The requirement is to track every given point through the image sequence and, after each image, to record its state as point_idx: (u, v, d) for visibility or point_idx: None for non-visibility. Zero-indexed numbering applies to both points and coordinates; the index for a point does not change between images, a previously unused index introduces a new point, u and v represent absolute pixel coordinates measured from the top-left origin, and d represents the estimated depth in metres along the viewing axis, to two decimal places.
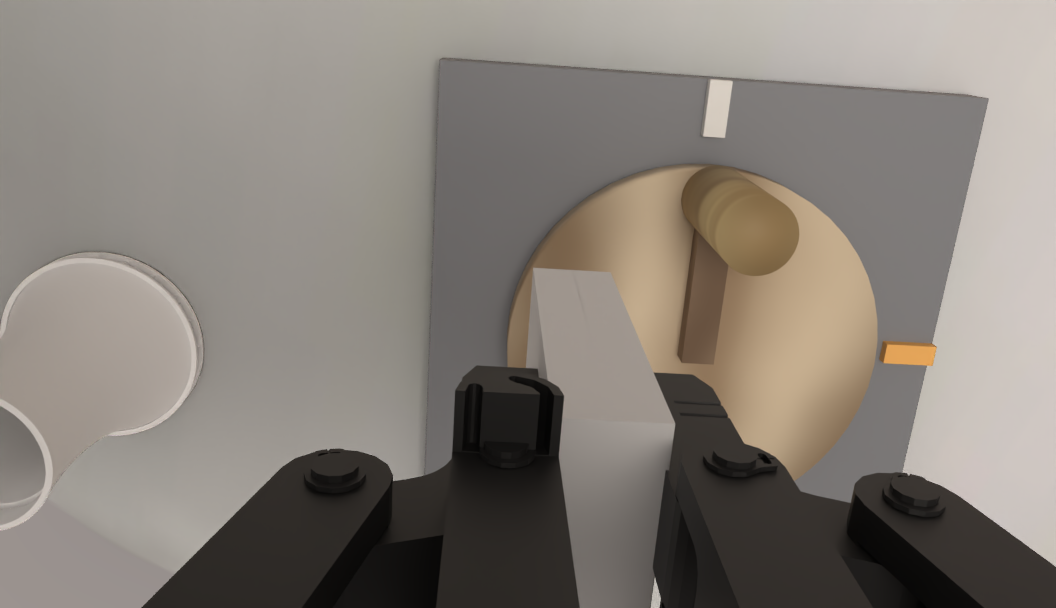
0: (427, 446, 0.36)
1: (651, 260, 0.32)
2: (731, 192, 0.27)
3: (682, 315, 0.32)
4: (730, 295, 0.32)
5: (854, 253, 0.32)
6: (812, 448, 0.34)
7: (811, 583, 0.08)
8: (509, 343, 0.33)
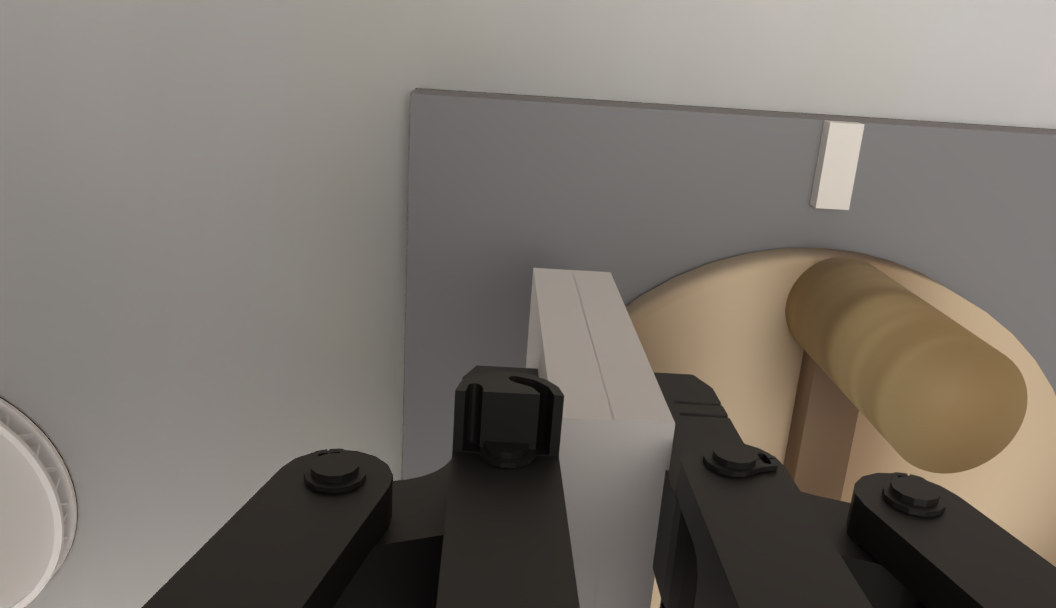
0: None
1: (735, 397, 0.21)
2: (898, 325, 0.16)
3: None
4: (855, 447, 0.21)
5: (1046, 385, 0.21)
6: None
7: (811, 583, 0.08)
8: None
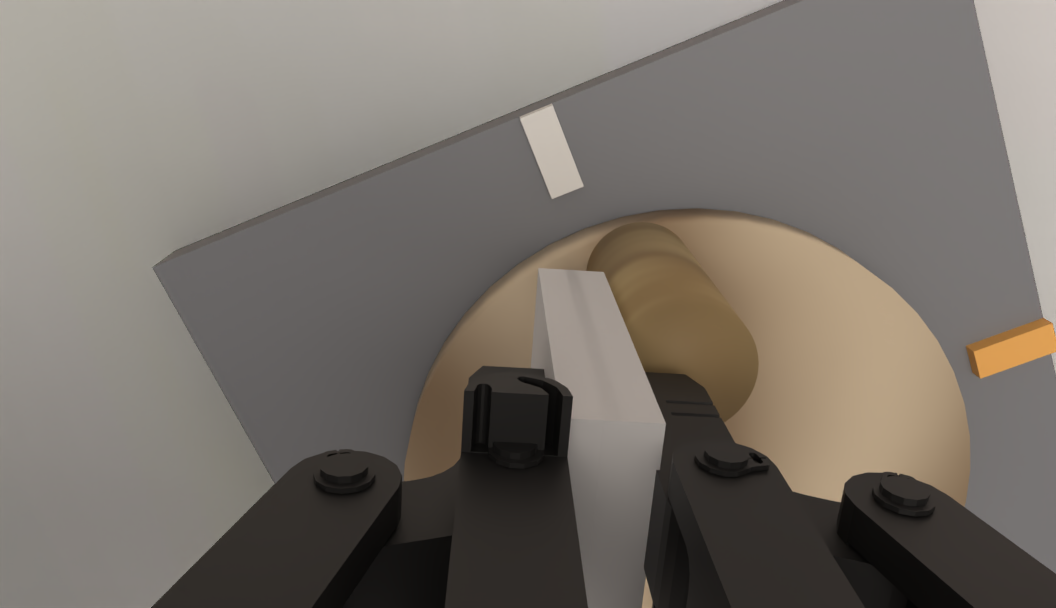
0: None
1: None
2: (626, 296, 0.15)
3: None
4: None
5: (885, 287, 0.20)
6: None
7: (803, 582, 0.08)
8: None
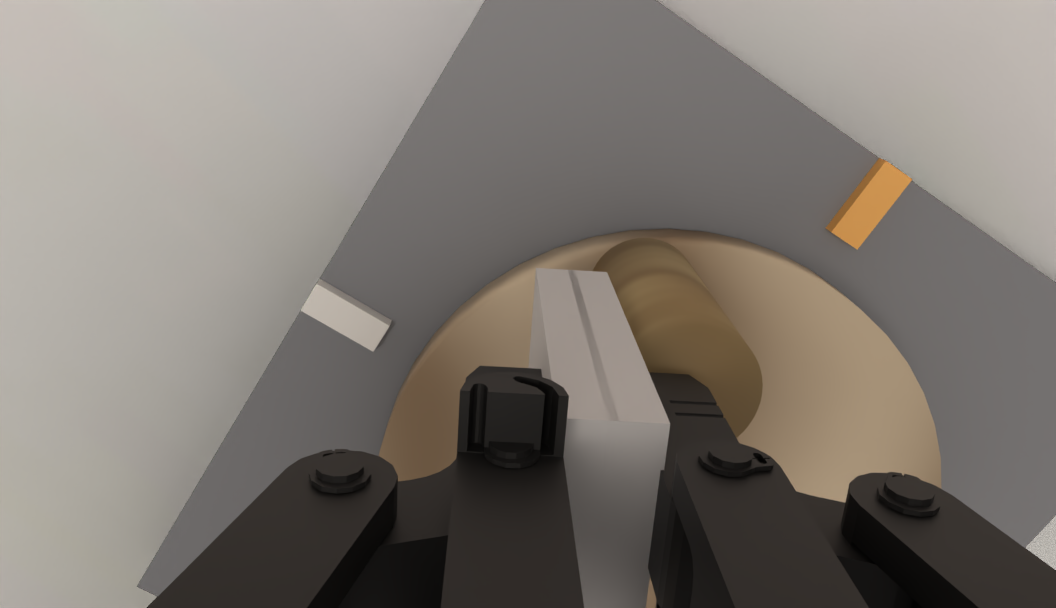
0: None
1: None
2: (636, 310, 0.15)
3: None
4: None
5: (880, 333, 0.20)
6: None
7: (807, 582, 0.08)
8: None
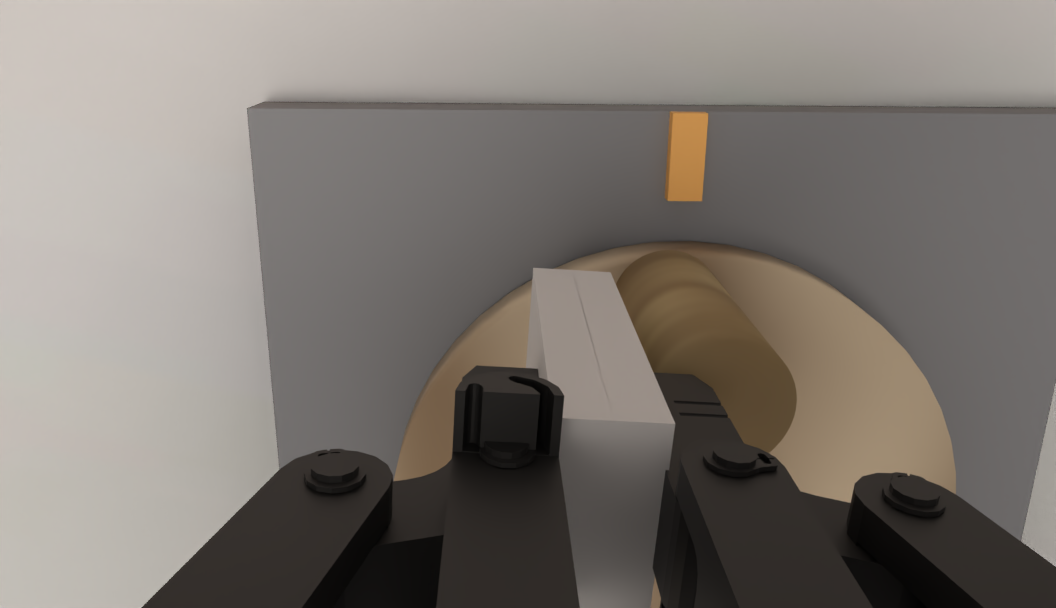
0: None
1: None
2: (669, 324, 0.15)
3: None
4: None
5: (900, 349, 0.20)
6: None
7: (811, 583, 0.08)
8: None
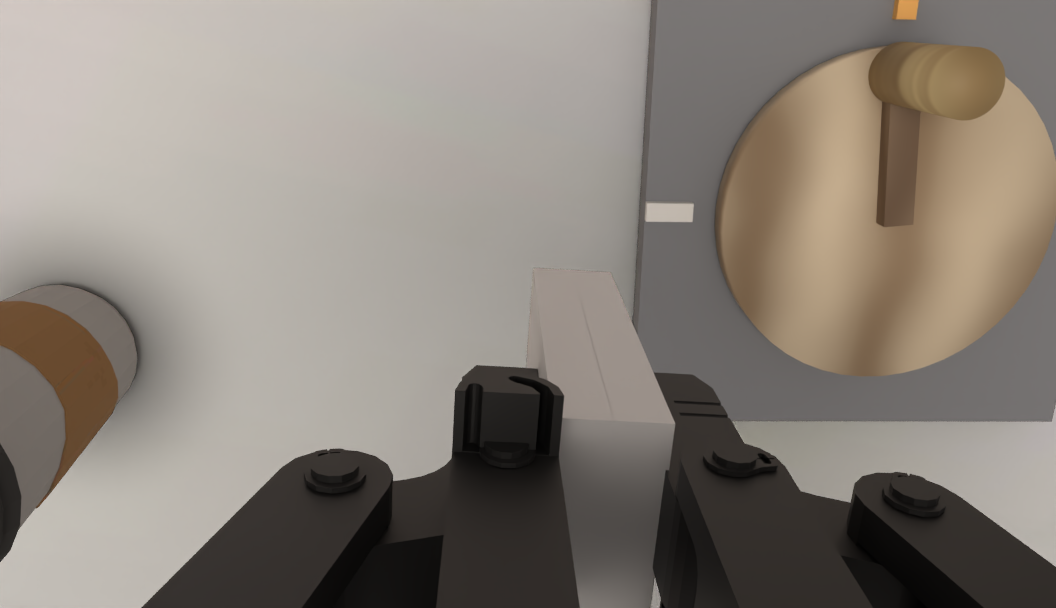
0: (953, 420, 0.41)
1: (845, 138, 0.35)
2: (934, 52, 0.30)
3: (878, 185, 0.36)
4: (919, 161, 0.36)
5: (1030, 105, 0.35)
6: (1007, 294, 0.38)
7: (811, 583, 0.08)
8: (724, 233, 0.36)
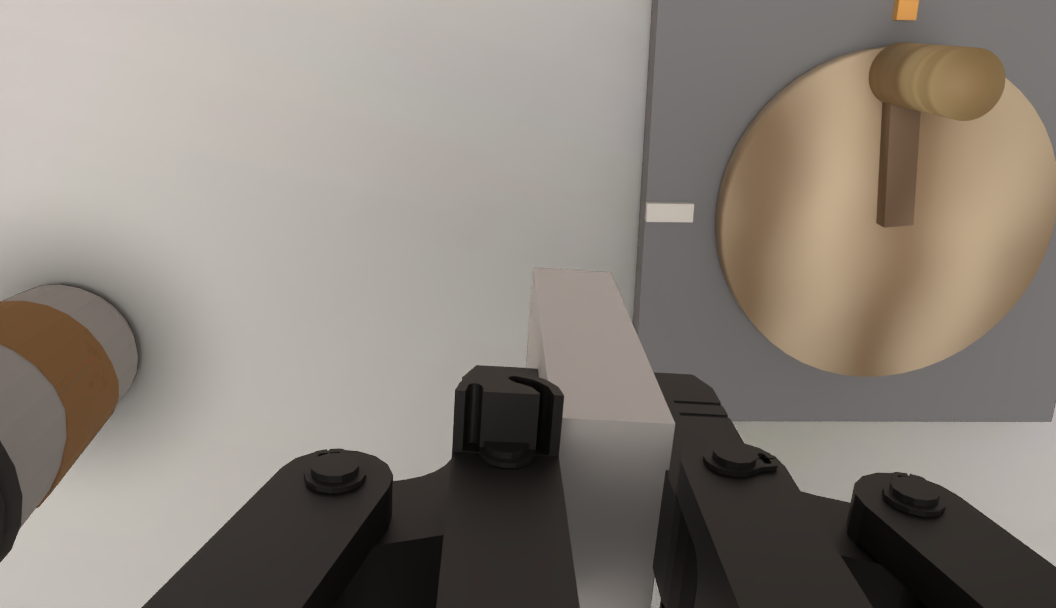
0: (953, 420, 0.41)
1: (845, 138, 0.35)
2: (934, 53, 0.30)
3: (878, 185, 0.36)
4: (920, 161, 0.36)
5: (1030, 106, 0.35)
6: (1007, 294, 0.38)
7: (811, 583, 0.08)
8: (724, 233, 0.36)
